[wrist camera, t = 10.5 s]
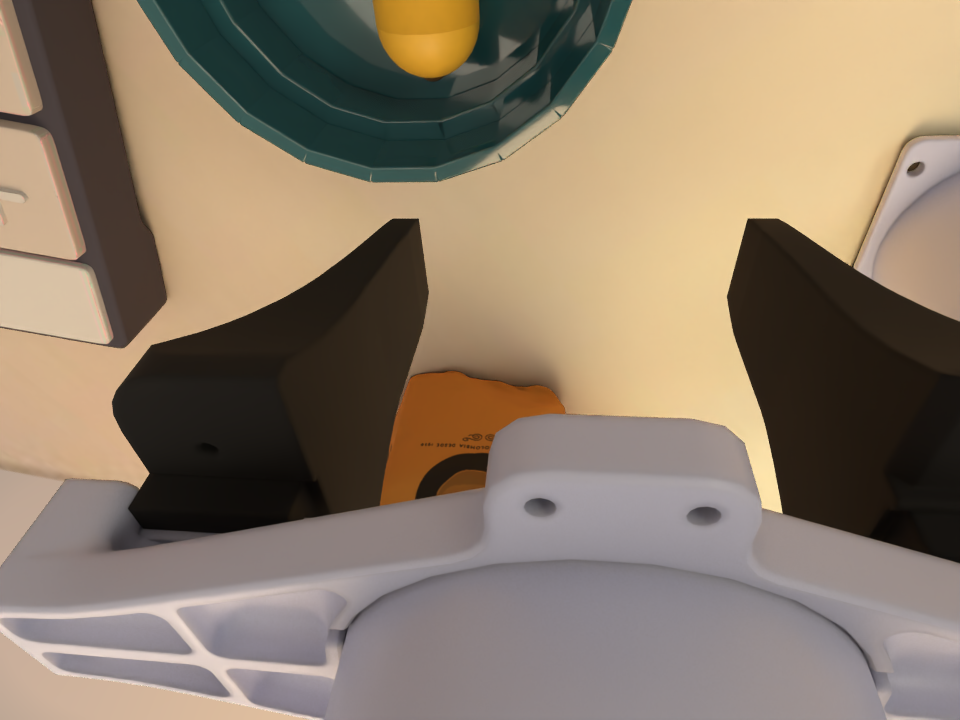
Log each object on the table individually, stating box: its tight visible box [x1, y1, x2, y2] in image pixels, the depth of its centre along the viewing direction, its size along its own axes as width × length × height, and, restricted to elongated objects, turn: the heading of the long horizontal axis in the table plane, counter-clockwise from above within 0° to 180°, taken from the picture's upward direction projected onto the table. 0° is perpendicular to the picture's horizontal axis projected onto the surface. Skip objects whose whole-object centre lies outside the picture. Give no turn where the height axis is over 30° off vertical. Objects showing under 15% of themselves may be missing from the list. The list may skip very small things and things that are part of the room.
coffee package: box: [380, 371, 565, 506], centre depth 25 cm, size 10×12×22 cm
